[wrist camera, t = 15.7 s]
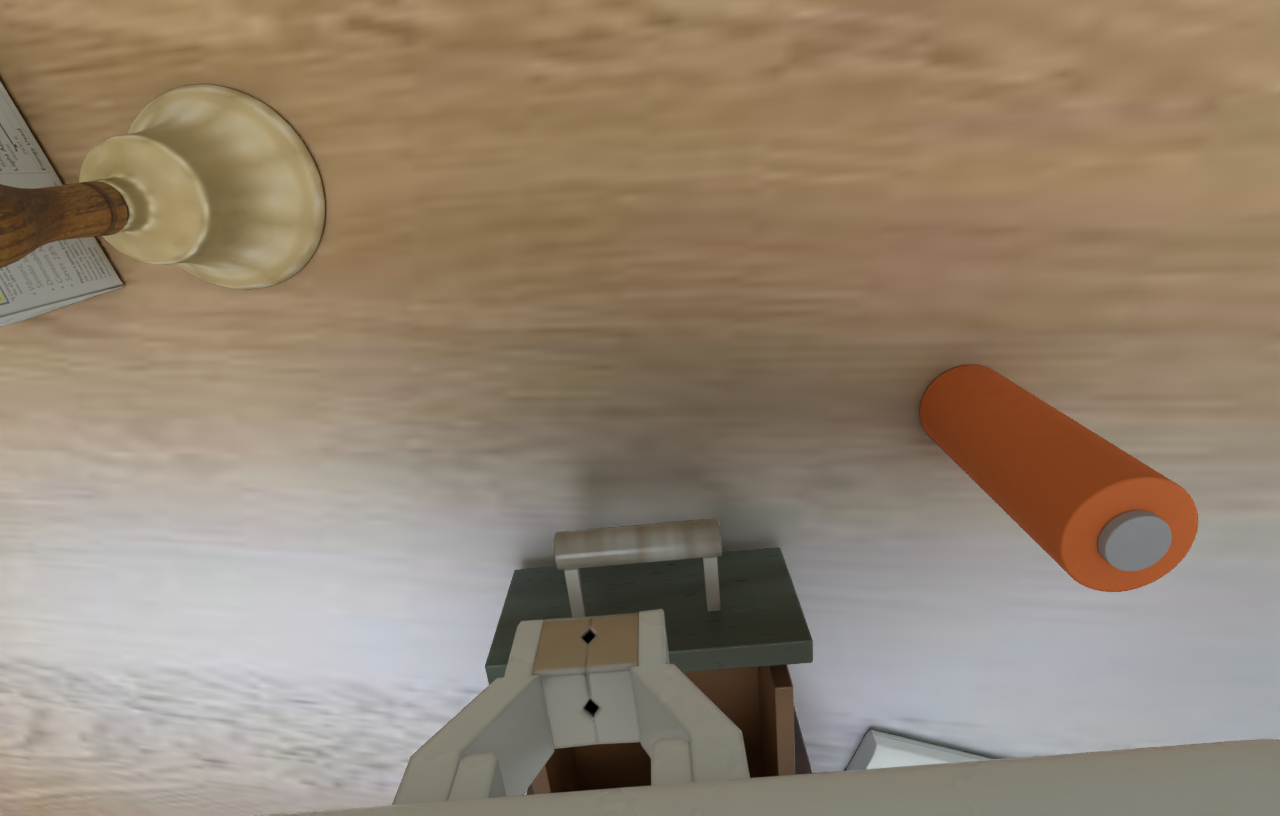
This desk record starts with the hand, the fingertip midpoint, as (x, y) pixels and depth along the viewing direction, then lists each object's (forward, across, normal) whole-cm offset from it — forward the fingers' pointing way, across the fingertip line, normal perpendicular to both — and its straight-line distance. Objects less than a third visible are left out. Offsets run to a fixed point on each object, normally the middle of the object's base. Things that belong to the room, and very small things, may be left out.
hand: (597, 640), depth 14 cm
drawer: (+18, 0, +16) cm, 23 cm away
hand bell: (+19, +16, -10) cm, 26 cm away
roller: (+19, -16, +4) cm, 25 cm away
